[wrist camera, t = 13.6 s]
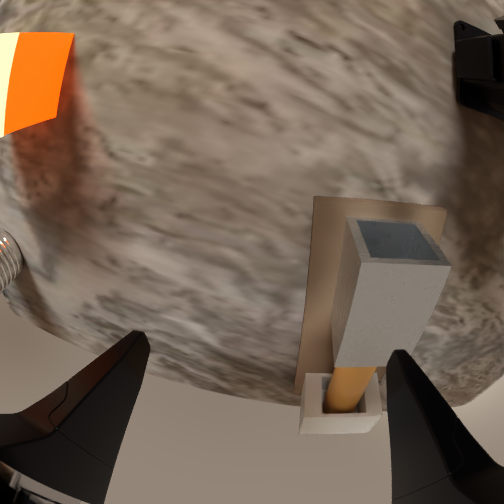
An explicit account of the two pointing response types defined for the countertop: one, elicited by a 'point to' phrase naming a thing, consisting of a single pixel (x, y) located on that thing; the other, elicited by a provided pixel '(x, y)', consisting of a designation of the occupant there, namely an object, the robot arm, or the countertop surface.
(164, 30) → the countertop surface
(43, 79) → the orange juice
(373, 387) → the white socket
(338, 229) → the walnut board
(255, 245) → the countertop surface
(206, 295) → the countertop surface
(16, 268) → the water bottle
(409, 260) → the steel sleeve
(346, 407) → the orange tube
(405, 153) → the countertop surface
